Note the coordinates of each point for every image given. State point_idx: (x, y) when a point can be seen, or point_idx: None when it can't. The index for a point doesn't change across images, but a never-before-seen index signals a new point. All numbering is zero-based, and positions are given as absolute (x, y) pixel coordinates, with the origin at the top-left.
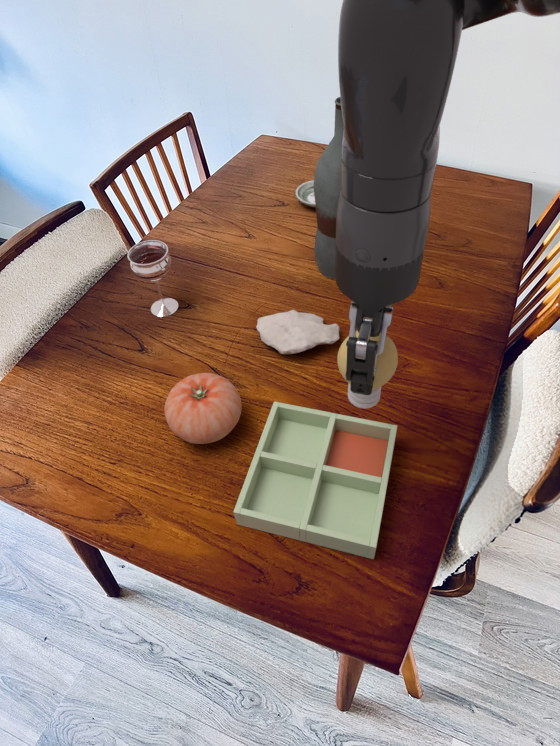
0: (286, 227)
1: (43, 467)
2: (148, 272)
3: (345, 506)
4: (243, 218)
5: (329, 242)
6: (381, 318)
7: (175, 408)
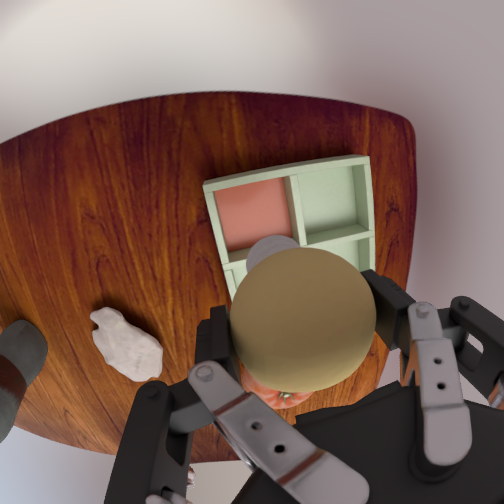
0: (36, 390)
1: None
2: (189, 474)
3: (317, 200)
4: (57, 418)
5: (27, 373)
6: (477, 440)
7: (308, 396)
